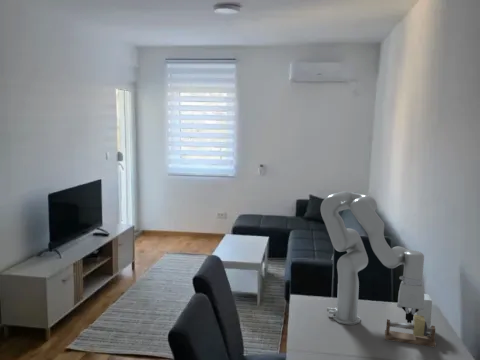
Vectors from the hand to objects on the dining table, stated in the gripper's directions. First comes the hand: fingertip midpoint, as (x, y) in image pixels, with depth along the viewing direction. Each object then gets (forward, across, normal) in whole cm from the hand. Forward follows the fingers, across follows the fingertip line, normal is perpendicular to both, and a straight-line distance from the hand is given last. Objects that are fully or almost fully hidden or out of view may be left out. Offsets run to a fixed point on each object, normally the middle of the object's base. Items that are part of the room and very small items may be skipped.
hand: (409, 321), depth 190 cm
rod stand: (+8, +1, 0) cm, 8 cm away
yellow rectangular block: (+5, +4, 0) cm, 6 cm away
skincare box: (+8, +6, +12) cm, 16 cm away
